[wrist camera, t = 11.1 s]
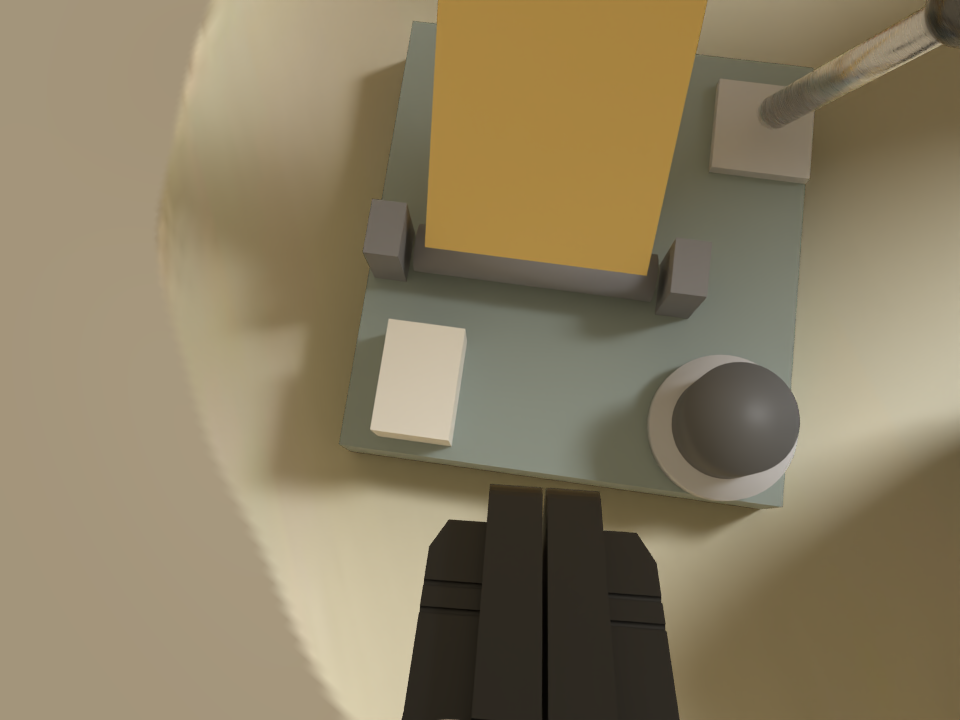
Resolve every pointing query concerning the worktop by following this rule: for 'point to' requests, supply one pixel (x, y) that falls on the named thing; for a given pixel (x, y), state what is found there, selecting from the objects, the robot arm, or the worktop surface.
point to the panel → (602, 320)
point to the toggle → (865, 63)
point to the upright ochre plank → (555, 140)
